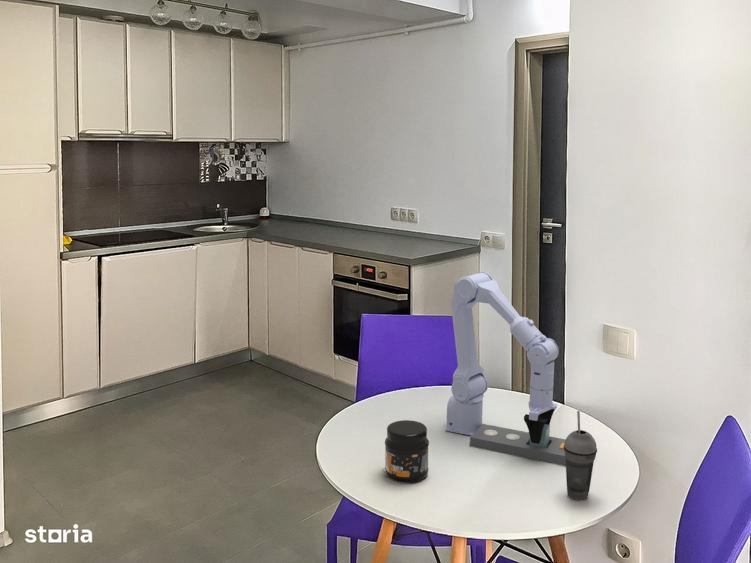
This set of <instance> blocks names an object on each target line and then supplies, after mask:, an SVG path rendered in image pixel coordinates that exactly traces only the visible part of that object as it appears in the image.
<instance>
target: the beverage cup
mask: <svg viewBox="0 0 751 563" xmlns="http://www.w3.org/2000/svg"><path fill="white" fill-rule="evenodd" d="M576 412H577V415H576V416H577V430H574V431H572V432H570V433H568V435H567V436H566V438H565V439H566V440H565V444H564V453H565V457H566V466H565V473H566V474H565V478H566V492H567V494H566V496H567V497H568V498H569V499H571V500H573V501H577V502H584V501H586V500H588V499H589V494H590V489H591V482H592V476H593V471H594V470H593V469H594V461H595V460H596V455H597V453H598V448H597V443H596V440H595V438H594V436H592V434H591V433H590V432H588V431H586V430H583V429H581V416H580V410H577V411H576Z"/></svg>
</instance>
